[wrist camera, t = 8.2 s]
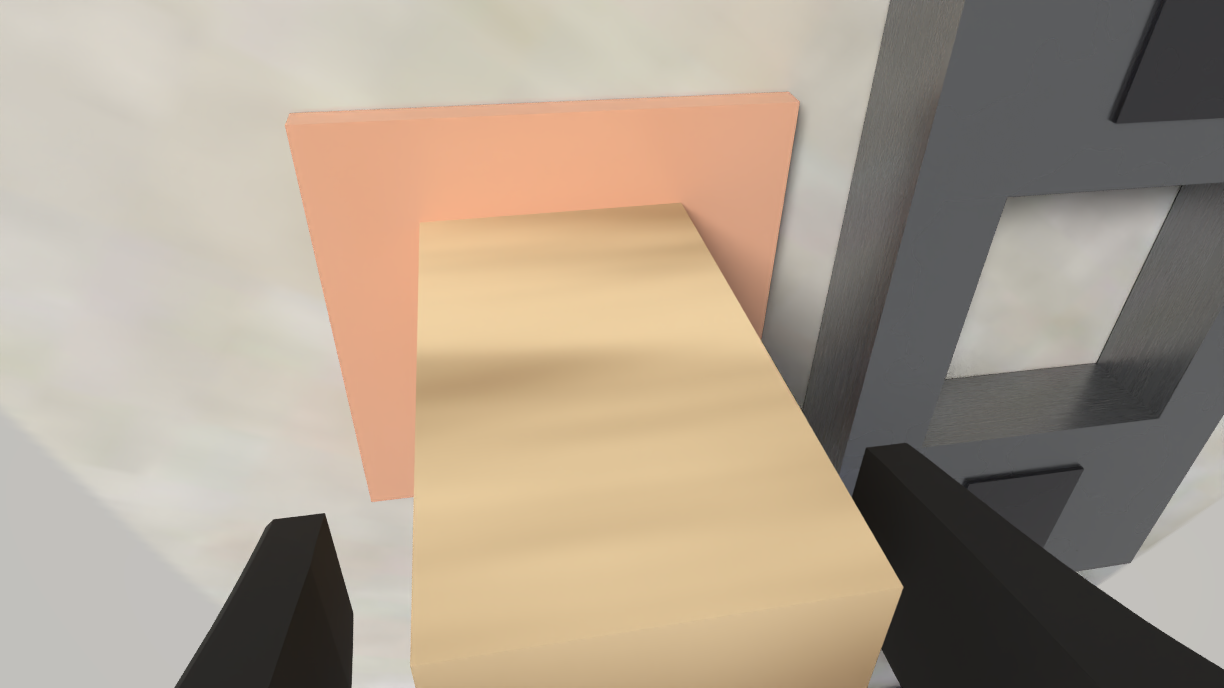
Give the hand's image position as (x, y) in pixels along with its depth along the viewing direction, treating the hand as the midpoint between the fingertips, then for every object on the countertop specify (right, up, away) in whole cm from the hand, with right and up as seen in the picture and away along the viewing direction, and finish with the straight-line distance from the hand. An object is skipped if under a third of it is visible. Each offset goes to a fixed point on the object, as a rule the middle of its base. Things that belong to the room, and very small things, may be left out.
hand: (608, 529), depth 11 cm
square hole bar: (+9, +4, +6) cm, 11 cm away
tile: (-1, +3, +4) cm, 5 cm away
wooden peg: (-1, +3, +4) cm, 5 cm away
